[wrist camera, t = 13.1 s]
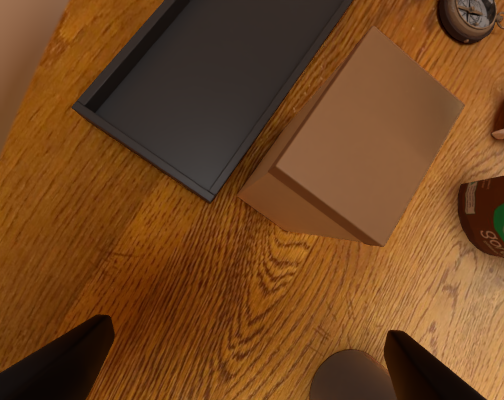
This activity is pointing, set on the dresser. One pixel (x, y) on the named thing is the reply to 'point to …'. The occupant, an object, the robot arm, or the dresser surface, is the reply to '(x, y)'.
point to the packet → (356, 147)
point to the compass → (469, 18)
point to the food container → (483, 214)
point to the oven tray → (206, 82)
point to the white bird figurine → (499, 134)
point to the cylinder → (352, 378)
